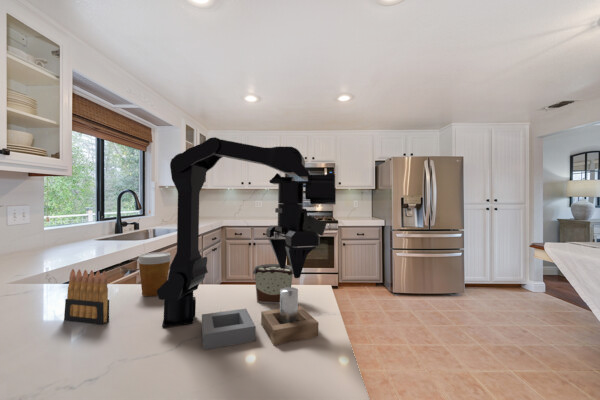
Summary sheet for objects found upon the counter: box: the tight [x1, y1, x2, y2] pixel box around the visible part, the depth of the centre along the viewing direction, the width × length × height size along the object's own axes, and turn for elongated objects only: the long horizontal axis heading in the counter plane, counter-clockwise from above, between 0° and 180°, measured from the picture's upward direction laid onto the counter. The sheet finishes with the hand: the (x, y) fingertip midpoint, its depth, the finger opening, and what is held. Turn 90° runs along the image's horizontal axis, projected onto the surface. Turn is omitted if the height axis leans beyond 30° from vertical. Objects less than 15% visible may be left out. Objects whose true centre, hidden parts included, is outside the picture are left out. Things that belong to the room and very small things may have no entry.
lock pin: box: [279, 286, 299, 324], centre depth 59 cm, size 4×4×9 cm
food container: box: [252, 263, 294, 304], centre depth 79 cm, size 12×6×10 cm, turn 84°
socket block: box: [201, 308, 256, 351], centre depth 57 cm, size 10×10×3 cm
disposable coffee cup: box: [137, 251, 173, 297], centre depth 82 cm, size 10×10×12 cm
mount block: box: [260, 305, 320, 346], centre depth 59 cm, size 10×10×3 cm
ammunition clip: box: [63, 268, 110, 326], centre depth 62 cm, size 11×2×12 cm, turn 80°
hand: (289, 272), depth 60 cm, fingers open, 9 cm apart
